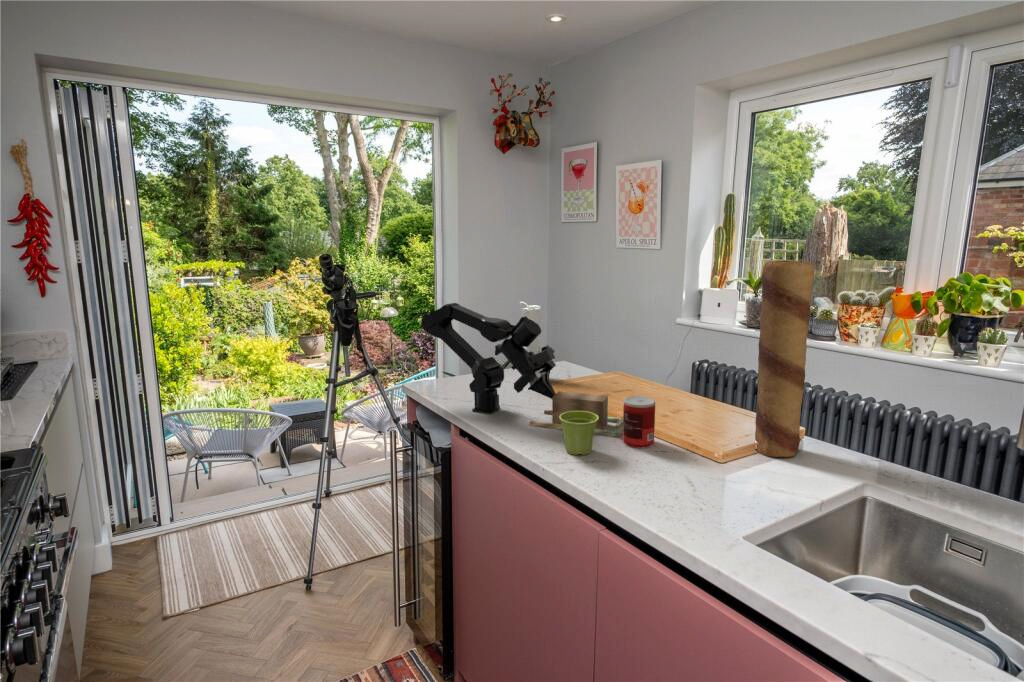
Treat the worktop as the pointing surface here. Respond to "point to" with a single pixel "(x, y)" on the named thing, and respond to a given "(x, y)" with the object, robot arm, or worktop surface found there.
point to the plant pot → (578, 431)
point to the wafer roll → (782, 355)
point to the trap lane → (597, 431)
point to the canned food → (638, 421)
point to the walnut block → (580, 406)
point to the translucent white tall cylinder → (535, 316)
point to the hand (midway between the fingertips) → (555, 398)
